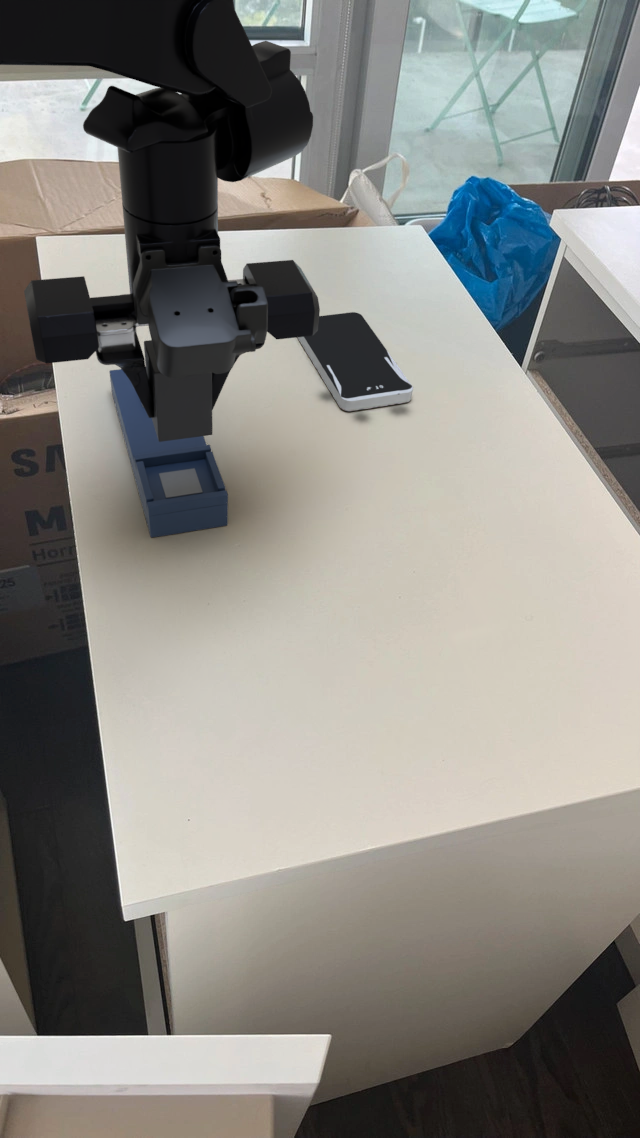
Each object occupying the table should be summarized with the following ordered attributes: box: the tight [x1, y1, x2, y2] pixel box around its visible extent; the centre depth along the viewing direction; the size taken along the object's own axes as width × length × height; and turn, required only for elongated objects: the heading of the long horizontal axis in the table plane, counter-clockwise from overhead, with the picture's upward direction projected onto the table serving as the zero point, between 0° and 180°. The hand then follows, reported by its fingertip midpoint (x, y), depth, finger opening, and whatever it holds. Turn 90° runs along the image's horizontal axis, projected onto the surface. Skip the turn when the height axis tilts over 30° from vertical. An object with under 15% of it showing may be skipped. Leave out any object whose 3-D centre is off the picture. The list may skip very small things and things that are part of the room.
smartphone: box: [296, 311, 414, 412], centre depth 87 cm, size 8×1×15 cm
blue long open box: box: [109, 368, 229, 539], centre depth 75 cm, size 6×20×4 cm, turn 18°
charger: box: [143, 339, 213, 442], centre depth 61 cm, size 4×4×6 cm
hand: (179, 411), depth 63 cm, fingers closed on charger, 4 cm apart
